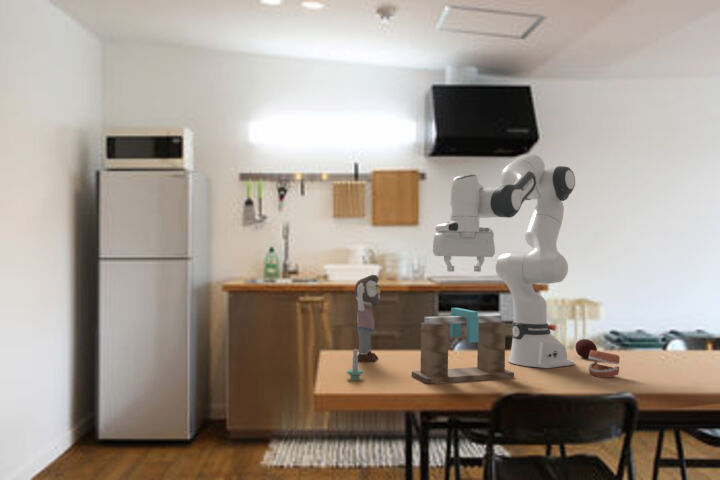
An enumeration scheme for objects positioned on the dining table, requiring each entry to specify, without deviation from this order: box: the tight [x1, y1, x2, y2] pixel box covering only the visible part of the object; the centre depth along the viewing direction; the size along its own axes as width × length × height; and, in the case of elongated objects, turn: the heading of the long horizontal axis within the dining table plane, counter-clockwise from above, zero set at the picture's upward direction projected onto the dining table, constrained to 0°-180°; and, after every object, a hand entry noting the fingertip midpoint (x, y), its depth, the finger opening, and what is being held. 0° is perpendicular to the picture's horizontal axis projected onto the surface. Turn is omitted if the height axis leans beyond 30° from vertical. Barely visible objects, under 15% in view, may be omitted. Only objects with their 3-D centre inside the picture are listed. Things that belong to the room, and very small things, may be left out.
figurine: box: [354, 274, 381, 363], centre depth 179 cm, size 18×9×30 cm, turn 168°
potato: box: [574, 338, 598, 359], centre depth 192 cm, size 7×8×7 cm
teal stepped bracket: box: [449, 307, 479, 343], centre depth 158 cm, size 3×12×9 cm, turn 20°
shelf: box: [411, 314, 515, 385], centre depth 158 cm, size 30×10×18 cm, turn 110°
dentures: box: [587, 350, 621, 378], centre depth 163 cm, size 9×7×8 cm
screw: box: [346, 348, 364, 381], centre depth 152 cm, size 9×5×5 cm
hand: (464, 271), depth 159 cm, fingers open, 8 cm apart
